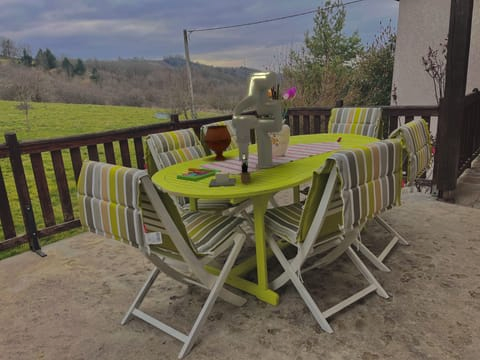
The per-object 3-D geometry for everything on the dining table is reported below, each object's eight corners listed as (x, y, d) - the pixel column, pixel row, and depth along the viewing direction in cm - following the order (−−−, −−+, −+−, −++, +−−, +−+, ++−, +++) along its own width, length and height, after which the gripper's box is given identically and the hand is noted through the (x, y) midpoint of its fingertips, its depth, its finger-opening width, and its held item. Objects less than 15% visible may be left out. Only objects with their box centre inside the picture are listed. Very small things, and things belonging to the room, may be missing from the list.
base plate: (211, 180, 214) (211, 179, 213) (235, 179, 213) (235, 177, 213) (208, 187, 200) (208, 185, 200) (234, 185, 199) (234, 184, 199)
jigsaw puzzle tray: (221, 174, 232) (193, 170, 247) (221, 170, 231) (193, 167, 247) (195, 182, 215) (167, 177, 230) (195, 178, 214) (166, 174, 230)
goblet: (202, 160, 278) (199, 126, 272) (224, 156, 288) (221, 124, 282) (214, 163, 262) (211, 128, 256) (237, 159, 272) (235, 125, 266)
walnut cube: (241, 181, 209) (241, 172, 207) (250, 180, 208) (250, 172, 207) (241, 183, 204) (240, 174, 202) (250, 183, 203) (249, 174, 202)
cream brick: (216, 180, 209) (216, 172, 208) (229, 180, 209) (228, 171, 207) (216, 182, 204) (215, 174, 203) (228, 182, 204) (228, 173, 203)
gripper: (237, 138, 209) (238, 168, 212) (235, 142, 192) (237, 174, 196) (250, 137, 208) (251, 167, 212) (250, 141, 191) (251, 173, 195)
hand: (245, 170), depth 204 cm, fingers open, 9 cm apart
